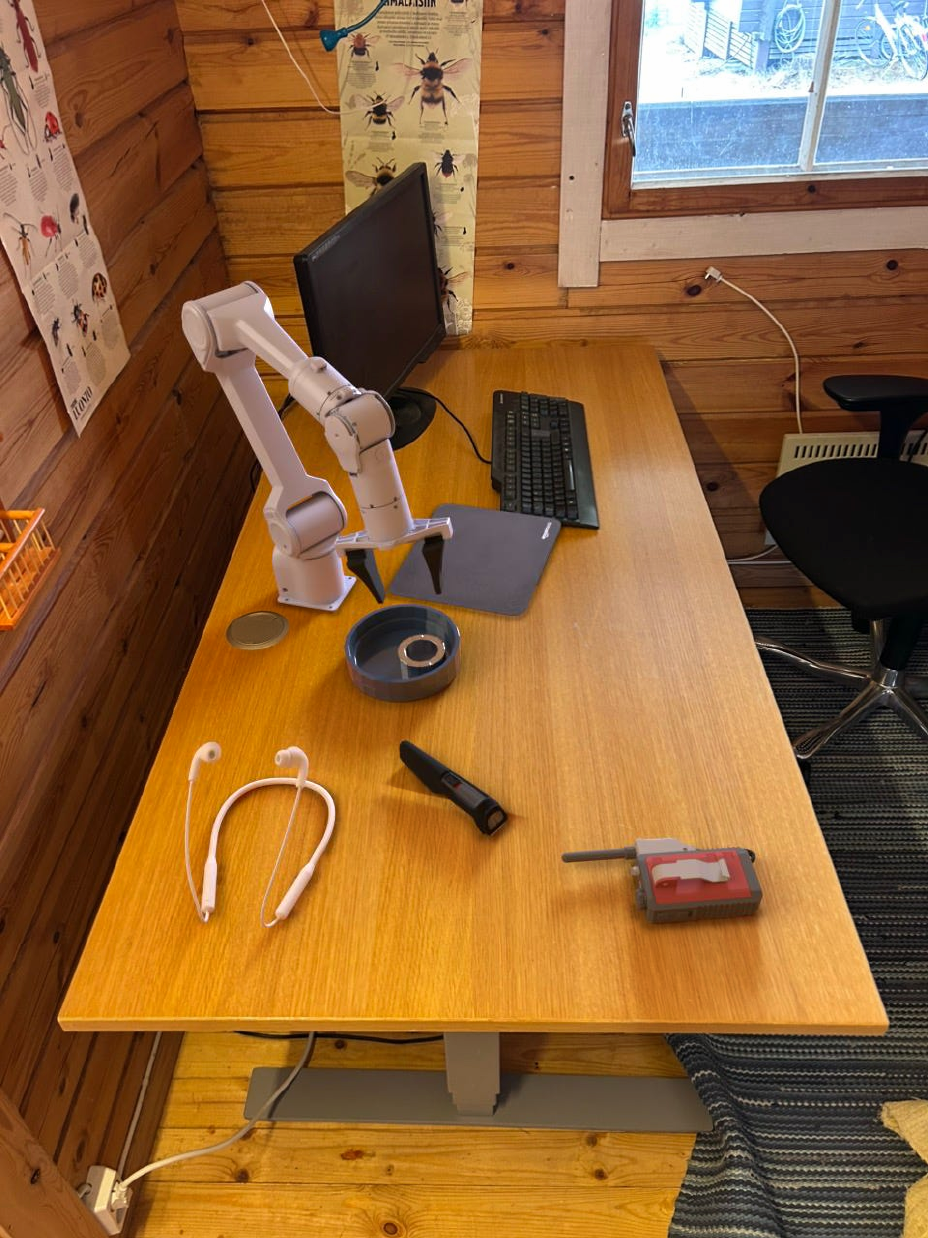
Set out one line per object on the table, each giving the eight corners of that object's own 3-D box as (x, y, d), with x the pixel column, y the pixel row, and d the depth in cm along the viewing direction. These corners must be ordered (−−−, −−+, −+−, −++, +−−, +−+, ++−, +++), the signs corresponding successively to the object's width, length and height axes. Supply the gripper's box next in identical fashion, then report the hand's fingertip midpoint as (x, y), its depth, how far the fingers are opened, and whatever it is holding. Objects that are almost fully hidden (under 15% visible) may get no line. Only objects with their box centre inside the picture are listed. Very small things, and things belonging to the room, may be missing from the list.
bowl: (330, 692, 112) (325, 670, 110) (374, 617, 123) (370, 596, 121) (440, 714, 109) (438, 692, 106) (475, 635, 119) (474, 614, 117)
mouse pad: (522, 619, 121) (522, 618, 121) (384, 594, 127) (384, 593, 127) (563, 520, 139) (563, 519, 139) (440, 503, 144) (440, 501, 144)
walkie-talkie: (745, 842, 92) (559, 856, 92) (752, 817, 90) (560, 832, 89) (771, 917, 86) (572, 932, 86) (780, 893, 83) (573, 909, 83)
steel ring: (393, 676, 114) (390, 661, 112) (409, 645, 118) (407, 630, 116) (437, 684, 112) (435, 670, 110) (452, 652, 116) (451, 638, 115)
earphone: (158, 926, 84) (176, 740, 87) (223, 897, 100) (237, 741, 103) (293, 937, 82) (308, 747, 85) (336, 906, 99) (348, 748, 101)
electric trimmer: (416, 747, 105) (414, 730, 103) (510, 819, 96) (509, 801, 94) (393, 765, 103) (390, 748, 101) (486, 840, 94) (485, 823, 92)
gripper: (316, 522, 101) (350, 620, 107) (435, 500, 98) (463, 602, 104) (329, 498, 107) (361, 592, 113) (442, 476, 104) (468, 574, 110)
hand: (410, 595), depth 109 cm, fingers open, 7 cm apart
